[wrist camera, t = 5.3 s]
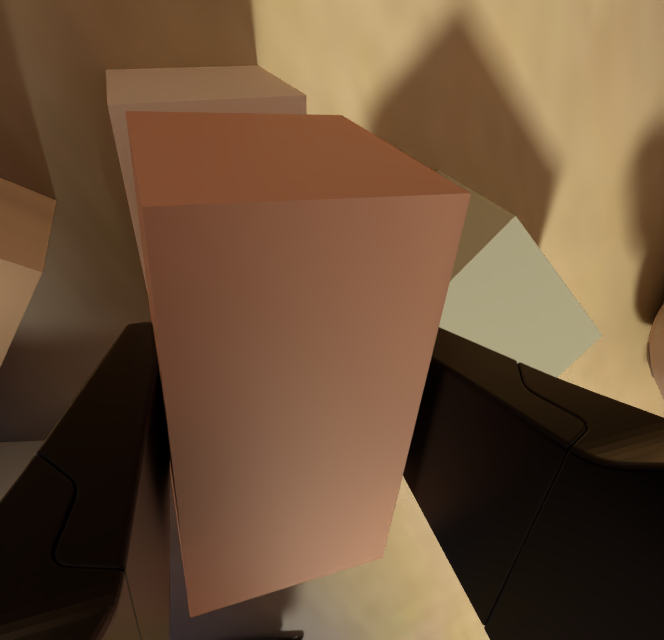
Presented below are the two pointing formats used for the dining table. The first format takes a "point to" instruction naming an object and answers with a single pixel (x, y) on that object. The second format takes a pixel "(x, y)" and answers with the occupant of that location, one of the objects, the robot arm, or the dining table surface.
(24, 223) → the beech brick
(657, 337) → the toy
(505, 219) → the sage brick
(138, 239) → the cream brick
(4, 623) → the robot arm
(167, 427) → the terracotta brick
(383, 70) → the dining table surface
